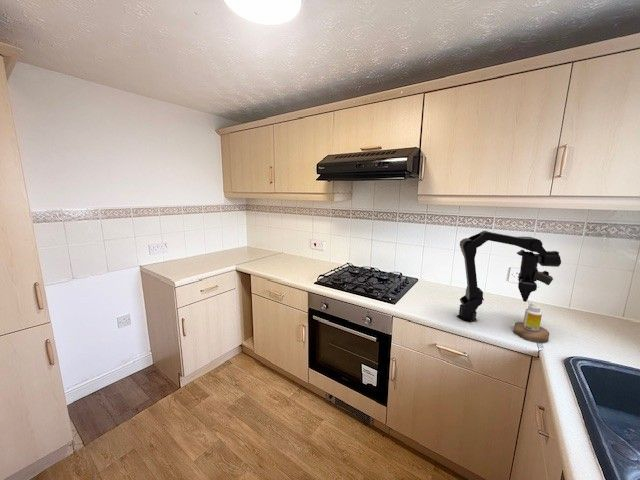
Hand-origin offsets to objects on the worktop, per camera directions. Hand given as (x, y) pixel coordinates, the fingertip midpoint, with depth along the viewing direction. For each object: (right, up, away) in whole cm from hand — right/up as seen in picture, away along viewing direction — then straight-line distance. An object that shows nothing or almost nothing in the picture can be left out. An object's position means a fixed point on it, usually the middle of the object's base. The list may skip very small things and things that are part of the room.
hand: (524, 298), depth 120 cm
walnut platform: (-2, -15, -6) cm, 16 cm away
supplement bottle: (-2, -12, -6) cm, 14 cm away
